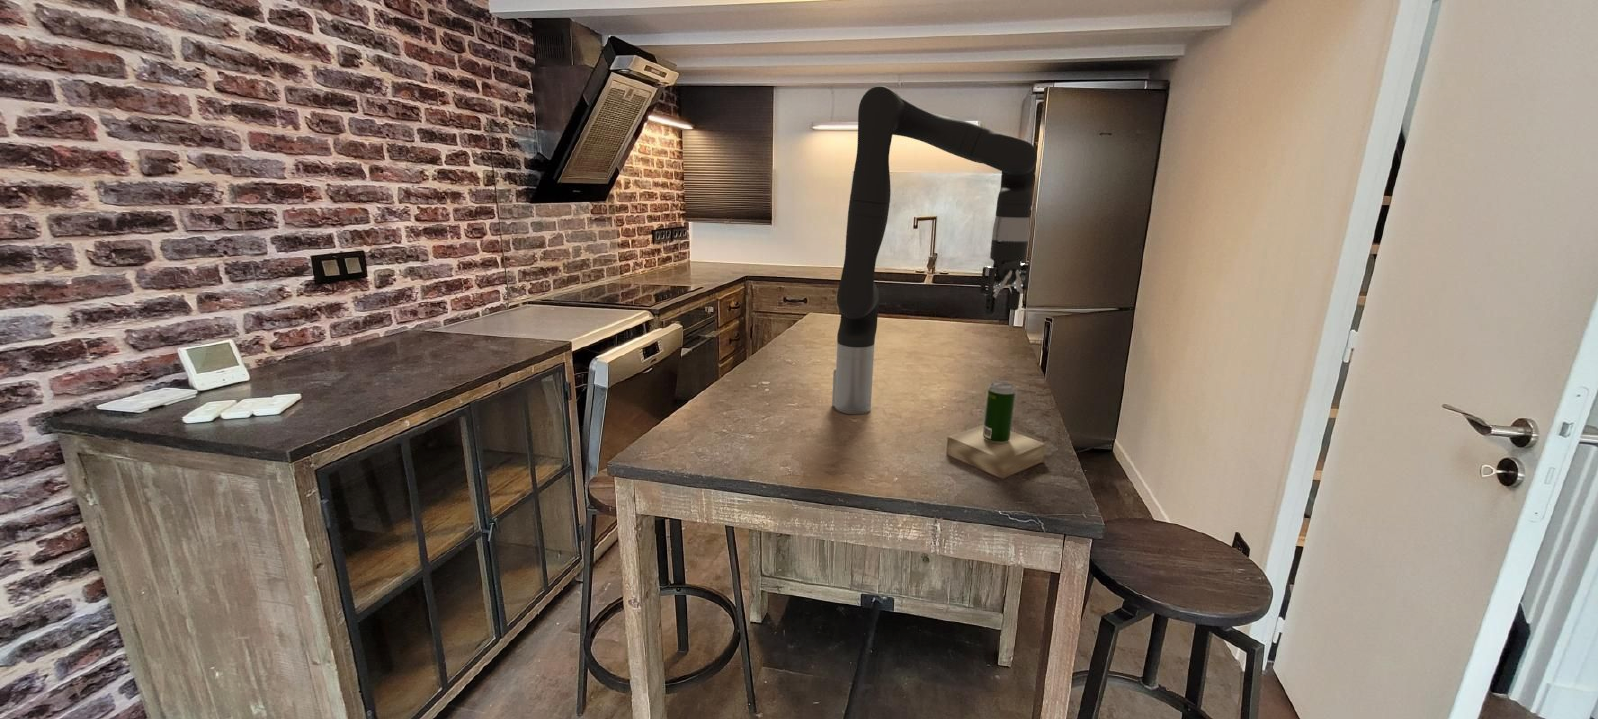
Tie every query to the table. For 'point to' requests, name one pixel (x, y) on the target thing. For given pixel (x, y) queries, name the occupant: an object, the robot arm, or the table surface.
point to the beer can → (999, 412)
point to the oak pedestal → (995, 452)
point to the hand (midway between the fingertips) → (1001, 311)
